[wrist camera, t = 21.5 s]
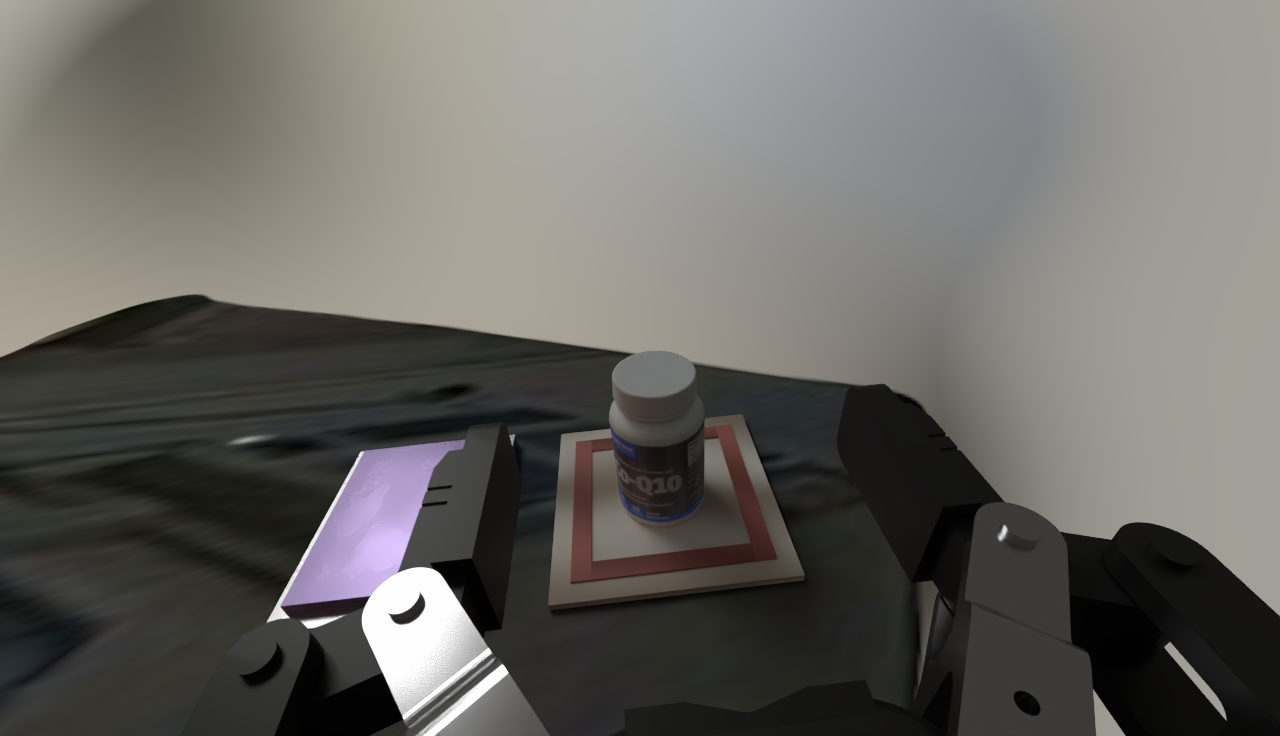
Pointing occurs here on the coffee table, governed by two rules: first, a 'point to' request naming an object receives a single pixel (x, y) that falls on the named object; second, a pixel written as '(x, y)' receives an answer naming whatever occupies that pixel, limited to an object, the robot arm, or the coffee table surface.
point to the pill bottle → (658, 437)
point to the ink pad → (362, 533)
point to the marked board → (673, 555)
